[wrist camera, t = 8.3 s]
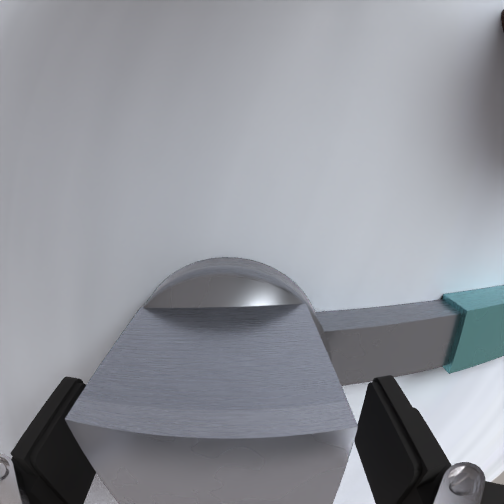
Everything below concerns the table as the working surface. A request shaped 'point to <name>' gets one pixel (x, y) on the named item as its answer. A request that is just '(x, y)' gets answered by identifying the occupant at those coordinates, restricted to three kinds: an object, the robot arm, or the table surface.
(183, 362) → the brushed metal cube
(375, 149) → the table surface
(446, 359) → the ratchet
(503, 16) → the coffee mug
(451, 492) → the robot arm
